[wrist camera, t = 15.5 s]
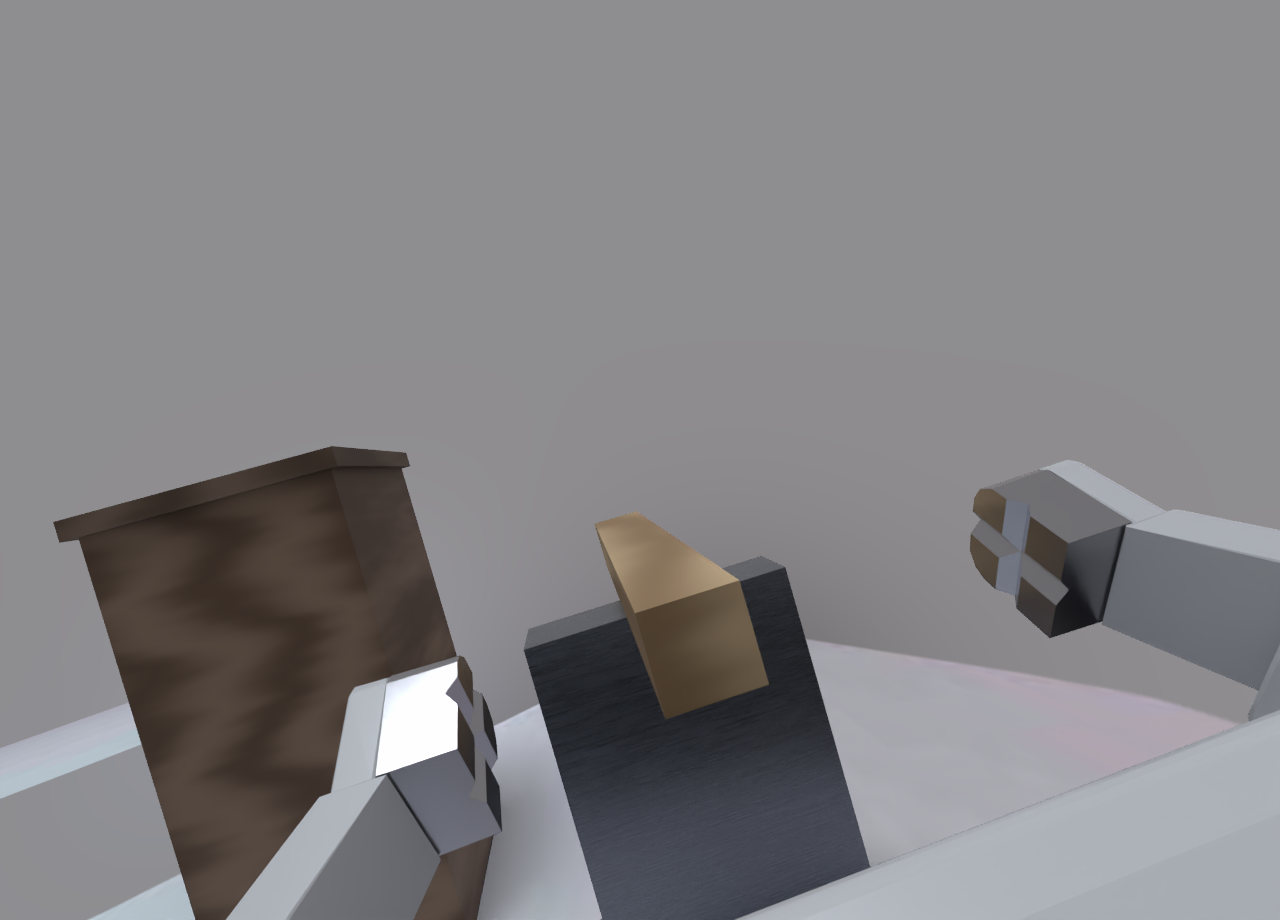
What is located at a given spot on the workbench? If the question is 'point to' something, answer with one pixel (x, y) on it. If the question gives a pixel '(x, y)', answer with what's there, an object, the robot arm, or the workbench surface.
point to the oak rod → (681, 616)
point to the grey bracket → (696, 768)
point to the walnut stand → (265, 650)
